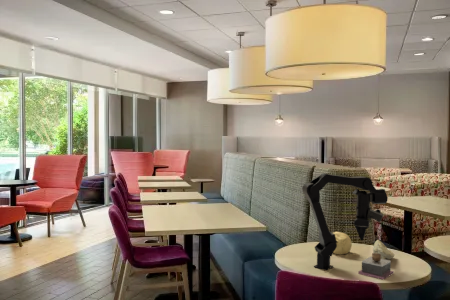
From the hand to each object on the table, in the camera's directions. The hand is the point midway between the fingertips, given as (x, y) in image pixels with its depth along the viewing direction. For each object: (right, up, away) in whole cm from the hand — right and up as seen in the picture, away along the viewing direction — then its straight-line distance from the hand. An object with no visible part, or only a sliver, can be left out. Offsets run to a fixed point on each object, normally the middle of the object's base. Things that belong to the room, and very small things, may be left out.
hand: (362, 237), depth 193 cm
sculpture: (-5, -12, +22) cm, 26 cm away
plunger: (+3, -12, -10) cm, 16 cm away
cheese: (+13, -13, +8) cm, 20 cm away
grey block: (+3, -13, -10) cm, 17 cm away
